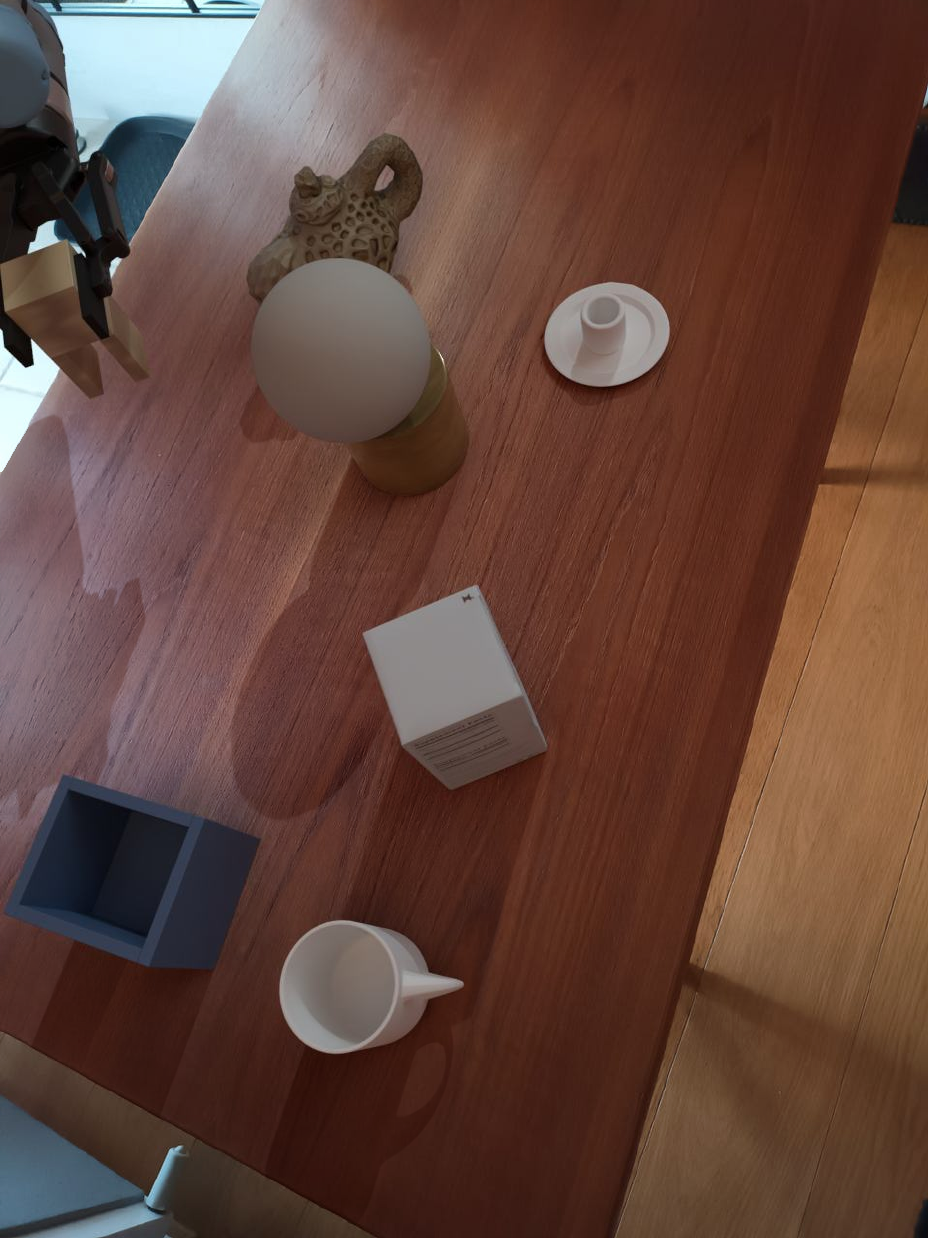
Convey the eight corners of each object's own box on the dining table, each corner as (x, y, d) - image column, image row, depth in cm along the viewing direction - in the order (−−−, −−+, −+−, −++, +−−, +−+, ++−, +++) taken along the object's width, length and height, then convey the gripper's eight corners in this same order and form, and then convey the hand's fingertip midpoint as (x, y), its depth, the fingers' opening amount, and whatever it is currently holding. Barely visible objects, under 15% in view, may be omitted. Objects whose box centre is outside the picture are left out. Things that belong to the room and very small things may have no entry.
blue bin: (83, 922, 82) (2, 913, 72) (133, 799, 85) (62, 773, 75) (214, 969, 78) (148, 967, 68) (261, 838, 82) (205, 818, 71)
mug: (475, 1046, 73) (446, 1056, 63) (324, 1044, 75) (274, 1053, 65) (475, 928, 76) (448, 919, 66) (330, 929, 78) (283, 920, 68)
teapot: (308, 374, 98) (251, 274, 85) (248, 312, 103) (185, 207, 89) (466, 248, 100) (435, 131, 86) (400, 193, 105) (361, 73, 91)
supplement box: (412, 694, 84) (356, 627, 68) (509, 653, 83) (475, 577, 68) (449, 795, 80) (399, 748, 64) (551, 752, 79) (525, 695, 64)
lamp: (418, 555, 88) (333, 405, 65) (301, 494, 93) (184, 334, 70) (503, 427, 92) (451, 241, 69) (386, 375, 96) (300, 184, 73)
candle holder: (620, 267, 96) (619, 236, 92) (695, 344, 91) (696, 314, 87) (522, 332, 95) (515, 304, 91) (591, 412, 90) (588, 386, 86)
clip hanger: (89, 399, 84) (4, 311, 73) (83, 356, 86) (-1, 264, 75) (150, 377, 84) (73, 285, 73) (142, 334, 86) (66, 238, 75)
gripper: (151, 135, 86) (191, 330, 77) (-39, 208, 87) (-21, 409, 78) (106, 61, 79) (145, 266, 70) (-99, 142, 80) (-87, 353, 71)
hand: (57, 341), depth 74 cm, fingers closed on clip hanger, 6 cm apart
